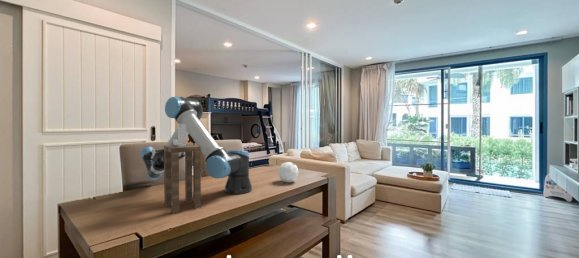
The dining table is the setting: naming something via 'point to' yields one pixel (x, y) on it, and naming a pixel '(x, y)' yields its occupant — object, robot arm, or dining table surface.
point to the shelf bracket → (181, 136)
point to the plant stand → (173, 176)
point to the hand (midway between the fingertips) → (168, 149)
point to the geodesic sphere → (288, 172)
